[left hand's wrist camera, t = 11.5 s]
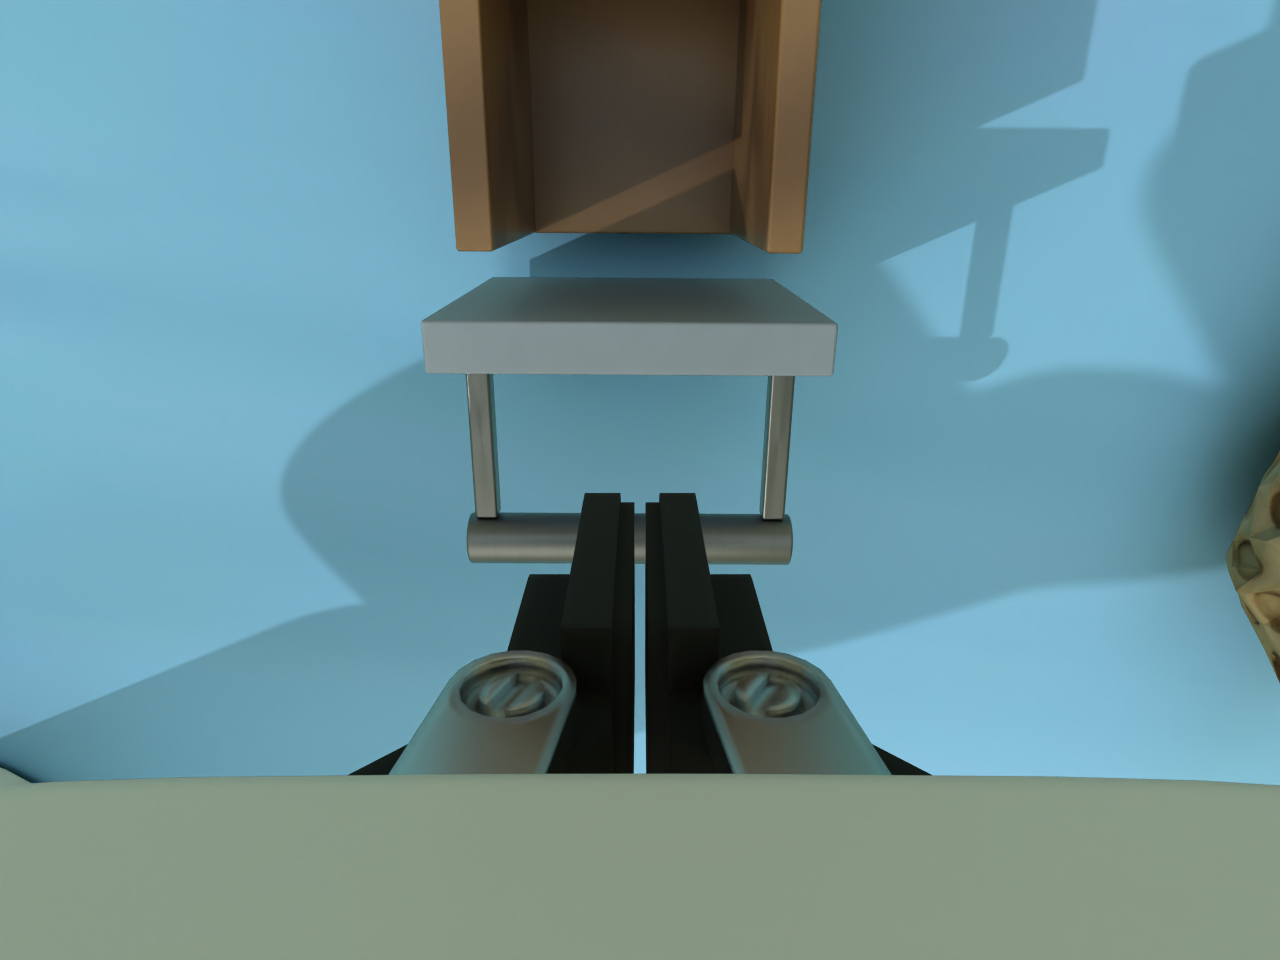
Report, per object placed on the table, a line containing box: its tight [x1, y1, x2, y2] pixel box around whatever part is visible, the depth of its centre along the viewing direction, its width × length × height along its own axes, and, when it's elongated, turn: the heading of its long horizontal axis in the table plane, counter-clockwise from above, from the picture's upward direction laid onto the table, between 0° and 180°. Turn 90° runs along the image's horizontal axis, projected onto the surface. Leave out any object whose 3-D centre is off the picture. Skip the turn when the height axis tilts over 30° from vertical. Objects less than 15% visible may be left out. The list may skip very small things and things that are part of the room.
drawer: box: [421, 0, 838, 565], centre depth 20 cm, size 24×9×9 cm, turn 0°
